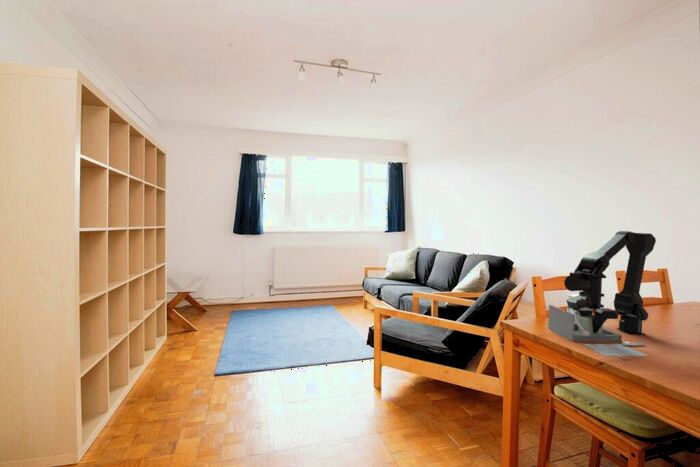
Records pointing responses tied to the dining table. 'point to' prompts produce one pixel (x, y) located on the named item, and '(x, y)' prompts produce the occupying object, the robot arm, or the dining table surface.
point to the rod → (632, 344)
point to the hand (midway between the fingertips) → (590, 330)
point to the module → (588, 325)
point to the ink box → (572, 309)
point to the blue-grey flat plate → (614, 350)
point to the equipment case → (575, 327)
